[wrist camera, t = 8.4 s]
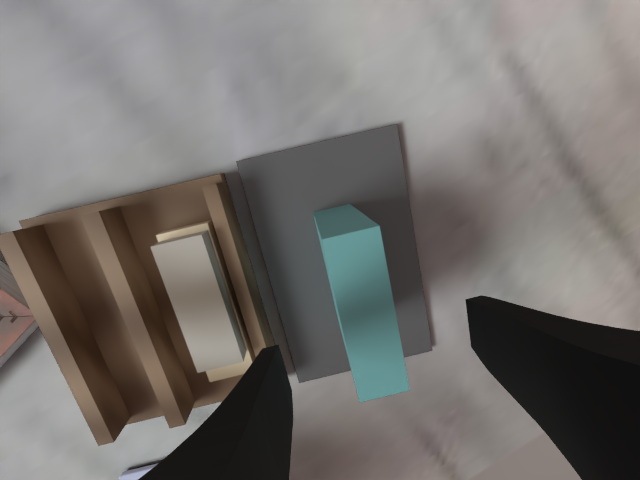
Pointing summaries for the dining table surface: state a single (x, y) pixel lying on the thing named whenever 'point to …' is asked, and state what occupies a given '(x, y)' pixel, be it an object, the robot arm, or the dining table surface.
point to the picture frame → (13, 315)
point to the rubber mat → (304, 245)
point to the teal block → (363, 300)
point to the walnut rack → (128, 301)
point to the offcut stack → (204, 299)
